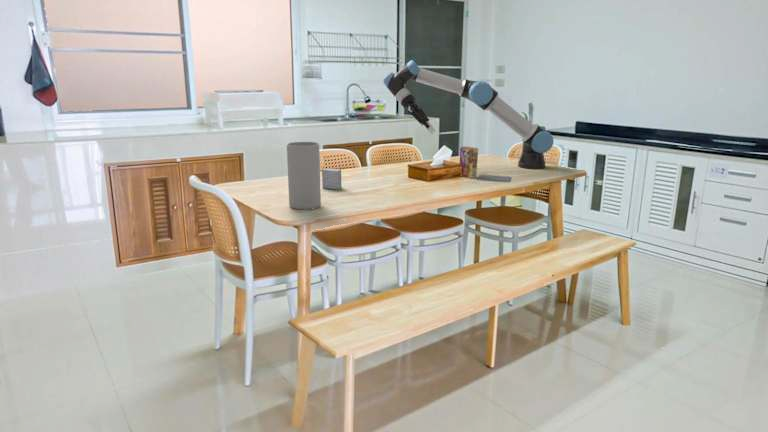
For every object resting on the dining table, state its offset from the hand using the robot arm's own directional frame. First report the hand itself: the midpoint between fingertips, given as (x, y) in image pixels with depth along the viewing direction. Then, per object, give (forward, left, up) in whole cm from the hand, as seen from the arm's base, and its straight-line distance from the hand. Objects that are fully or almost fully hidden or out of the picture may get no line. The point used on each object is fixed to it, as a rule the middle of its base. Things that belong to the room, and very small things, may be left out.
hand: (433, 132), depth 272 cm
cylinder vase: (+33, +86, -22) cm, 94 cm away
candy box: (-19, +3, -22) cm, 29 cm away
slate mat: (-33, +3, -22) cm, 39 cm away
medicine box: (+36, +52, -22) cm, 66 cm away
